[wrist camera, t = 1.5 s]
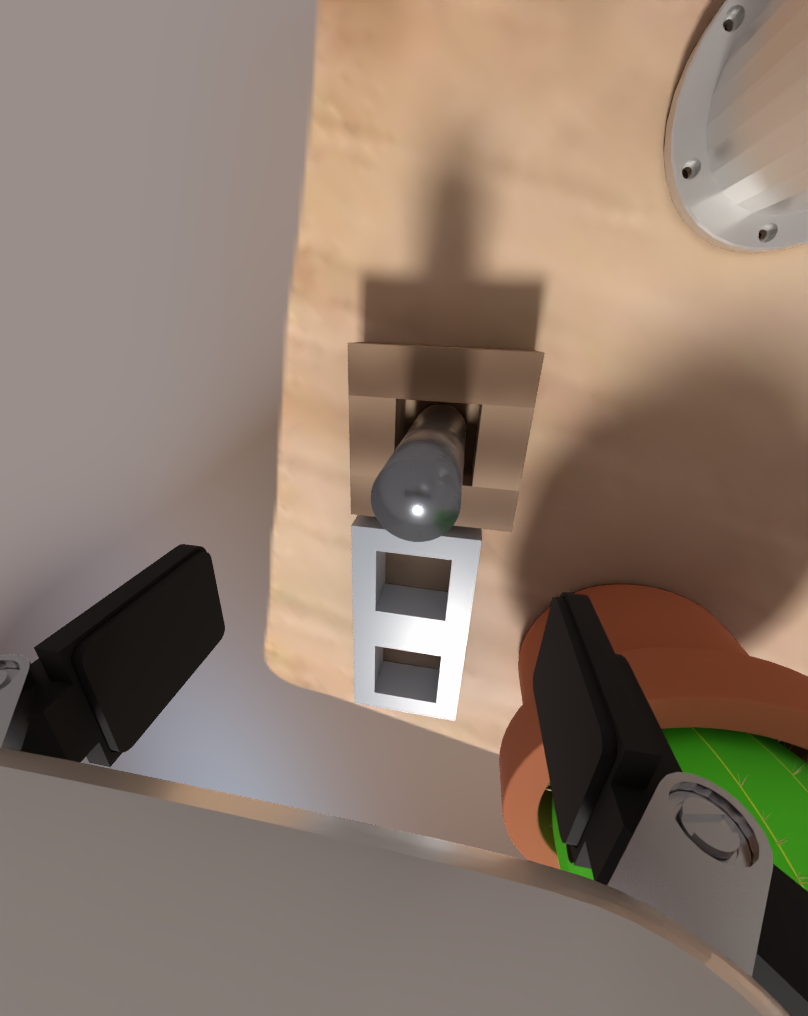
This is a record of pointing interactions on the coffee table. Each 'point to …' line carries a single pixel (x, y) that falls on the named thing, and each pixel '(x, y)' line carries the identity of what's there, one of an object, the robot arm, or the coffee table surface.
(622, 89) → the coffee table surface
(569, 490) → the coffee table surface
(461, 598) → the peg rack
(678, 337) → the coffee table surface
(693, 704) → the potted cactus
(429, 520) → the metal peg
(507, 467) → the socket block
